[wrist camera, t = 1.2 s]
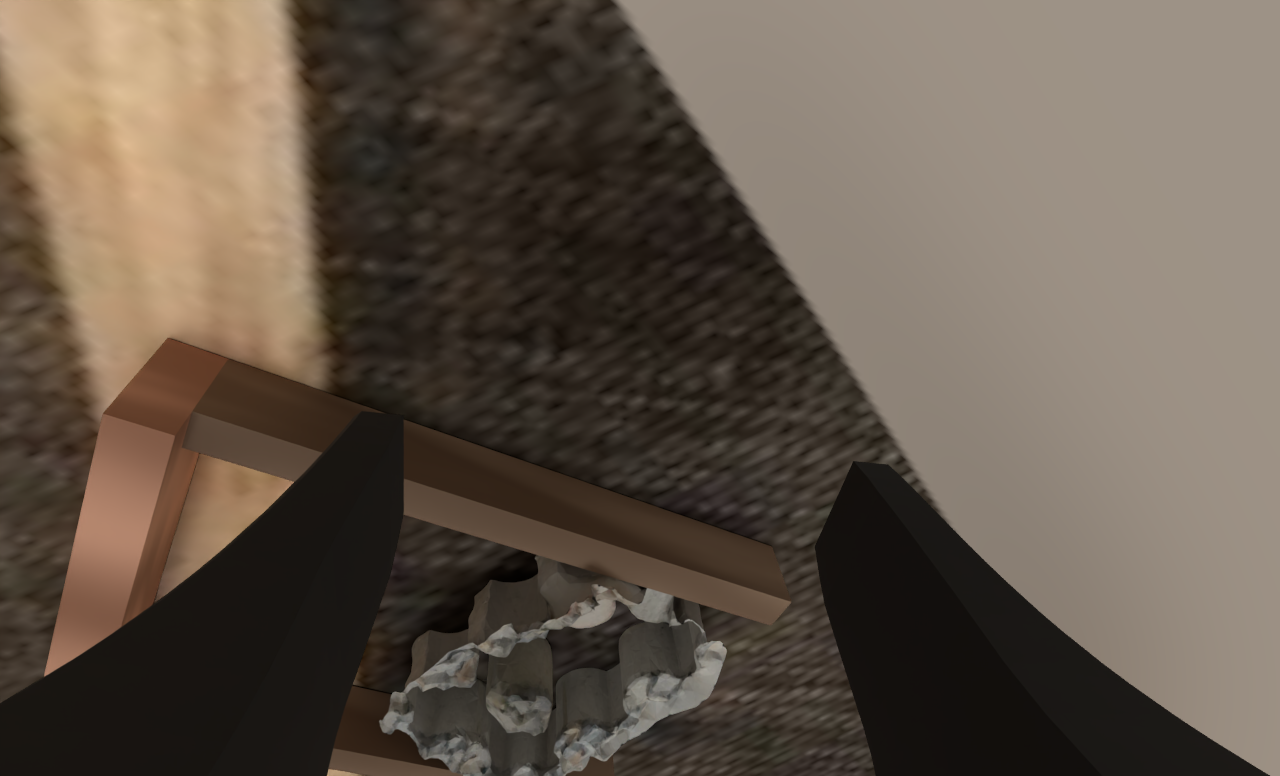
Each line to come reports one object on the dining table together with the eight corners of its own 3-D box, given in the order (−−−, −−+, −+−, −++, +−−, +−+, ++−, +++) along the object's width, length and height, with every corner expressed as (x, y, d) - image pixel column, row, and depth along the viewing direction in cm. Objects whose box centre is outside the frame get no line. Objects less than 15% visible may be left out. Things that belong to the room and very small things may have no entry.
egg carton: (592, 489, 24) (601, 585, 21) (728, 600, 28) (754, 697, 25) (374, 651, 27) (350, 758, 24) (521, 733, 31) (519, 836, 28)
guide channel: (598, 758, 32) (604, 844, 29) (87, 651, 26) (28, 747, 23) (772, 546, 26) (800, 627, 24) (168, 338, 20) (102, 413, 17)
